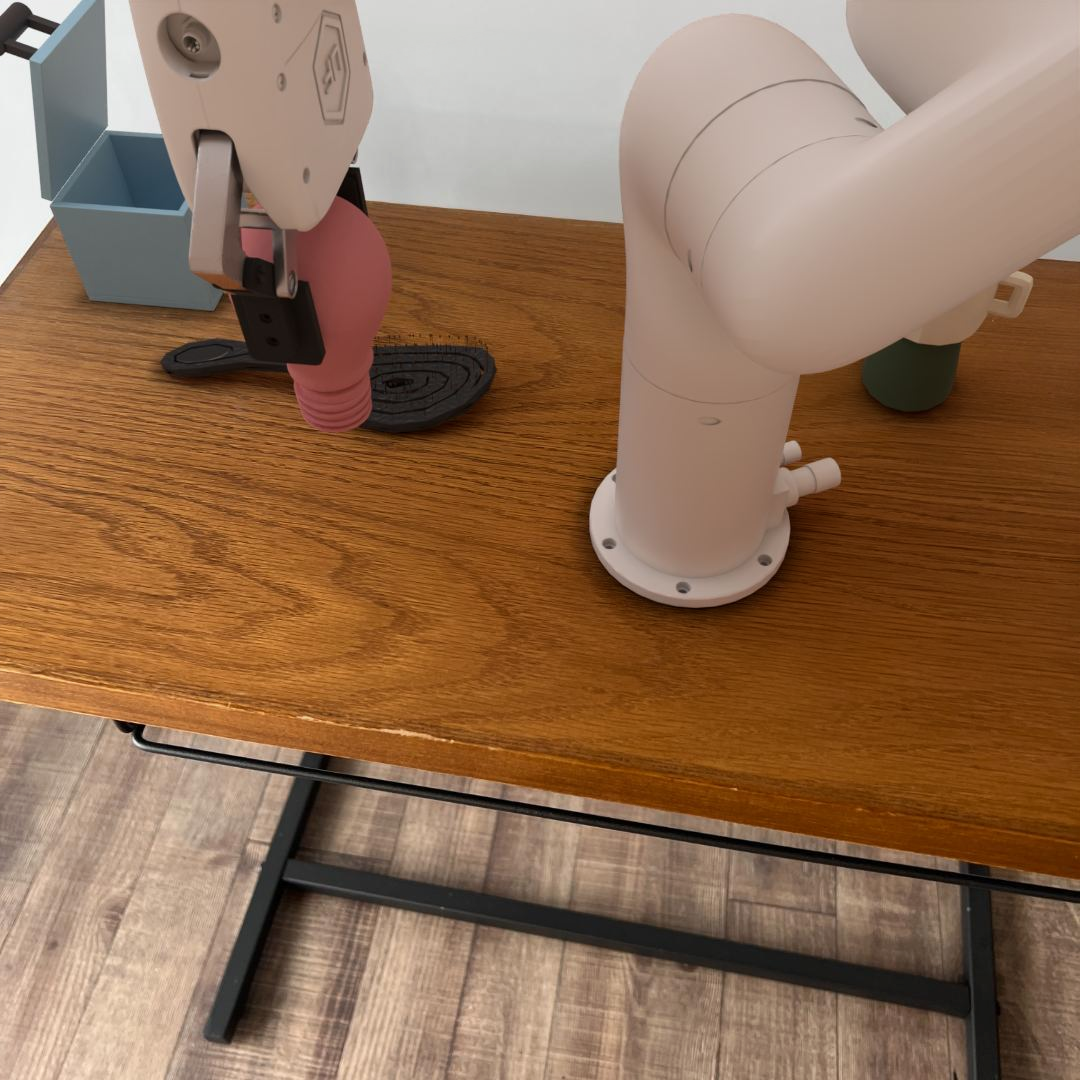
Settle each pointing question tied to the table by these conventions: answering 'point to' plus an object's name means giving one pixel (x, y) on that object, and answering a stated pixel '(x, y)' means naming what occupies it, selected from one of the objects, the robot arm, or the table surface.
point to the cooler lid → (63, 85)
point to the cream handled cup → (936, 350)
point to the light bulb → (337, 311)
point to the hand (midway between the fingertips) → (314, 296)
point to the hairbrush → (373, 378)
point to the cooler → (131, 225)
